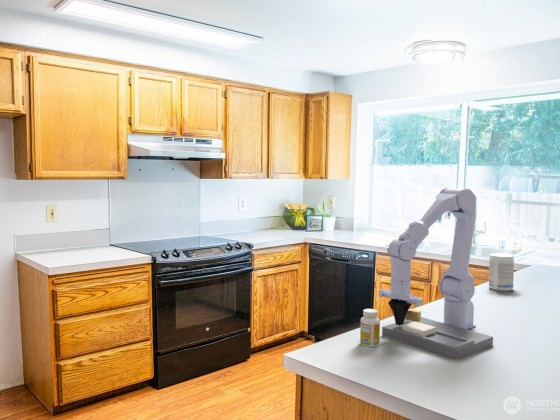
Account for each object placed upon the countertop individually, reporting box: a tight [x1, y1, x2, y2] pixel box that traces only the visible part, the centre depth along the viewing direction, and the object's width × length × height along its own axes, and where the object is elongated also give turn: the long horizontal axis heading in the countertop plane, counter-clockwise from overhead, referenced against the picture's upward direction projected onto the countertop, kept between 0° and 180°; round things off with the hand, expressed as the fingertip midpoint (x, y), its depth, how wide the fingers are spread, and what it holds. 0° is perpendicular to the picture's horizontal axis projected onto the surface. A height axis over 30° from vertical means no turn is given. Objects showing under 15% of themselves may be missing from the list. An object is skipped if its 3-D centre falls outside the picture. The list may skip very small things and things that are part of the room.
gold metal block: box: [405, 308, 422, 322], centre depth 149 cm, size 4×2×4 cm, turn 60°
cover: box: [403, 321, 436, 337], centre depth 140 cm, size 6×7×2 cm
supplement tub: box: [488, 252, 515, 292], centre depth 205 cm, size 10×10×15 cm
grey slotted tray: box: [381, 316, 494, 361], centre depth 141 cm, size 18×25×4 cm
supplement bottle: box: [359, 308, 381, 348], centre depth 137 cm, size 5×5×10 cm
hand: (399, 324), depth 145 cm, fingers closed
